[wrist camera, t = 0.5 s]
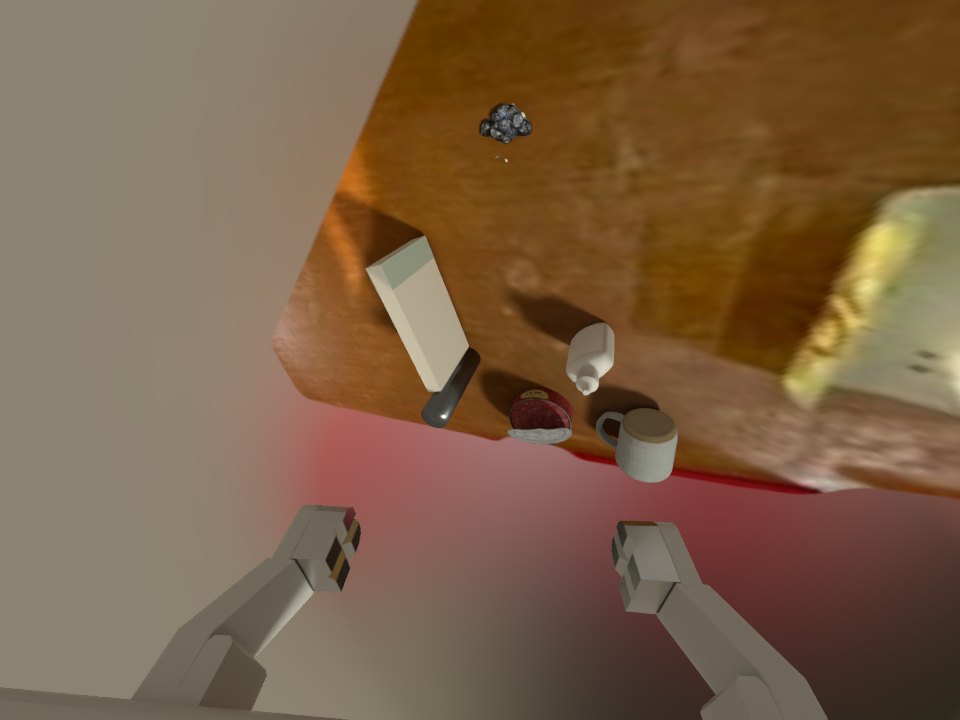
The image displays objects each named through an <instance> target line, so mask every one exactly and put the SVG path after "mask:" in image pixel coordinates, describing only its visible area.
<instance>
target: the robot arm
mask: <svg viewBox="0 0 960 720" xmlns="http://www.w3.org/2000/svg"><path fill="white" fill-rule="evenodd" d="M355 514H356V513H355V510H354V508H353V507H337V506H322V505H304V506H303V507H302V508H301V509H300V510H299V511H298V513H297V515H296V517H295V518H294V520H293V522H292V524H291V525H290V527H289V529H288V531H287V532H286V534H285V536H284V538H283V539H282V541H281V543H280V545H279V546H278V548H277V550H276V552H275V553H274V555H273V557H272V558H266V559H265V560H264V561H263V562H262V563H260V564H259V565H258V566H257V567H255V568H254V569H253V570H252V571H251V572H249V573H248V574H247V575H245V576H244V577H243V578H242V579H240V580H239V581H238V582H237V583H235V584H234V585H233V586H232V587H230V588H229V589H228V590H227V591H225V592H224V593H223V594H222V595H220V596H219V597H218V598H217V599H215V600H214V601H213V602H212V603H211V604H209V605H208V606H207V607H206V608H204V609H203V610H202V611H201V612H199V613H198V614H197V615H196V616H194V617H193V618H192V619H191V620H189V621H188V622H187V623H186V624H185V625H183V626H182V627H181V628H179V629H178V631H177V632H176V633H175V635H174V636H173V638H172V639H171V641H170V642H169V644H168V645H167V647H166V648H165V650H164V651H163V653H162V654H161V656H160V657H159V659H158V660H157V661H156V663H155V665H154V666H153V667H152V669H151V670H150V672H149V673H148V675H147V676H146V678H145V679H144V681H143V682H142V684H141V685H140V687H139V688H138V690H137V691H136V692H135V694H134V696H133V697H132V698H131V699H119V698H109V697H98V696H87V695H75V694H65V693H55V692H44V691H33V690H23V689H12V688H1V687H0V720H346V719H335V718H325V717H313V716H303V715H292V714H281V713H270V712H260V711H251V710H252V708H253V706H254V703H255V701H256V699H257V696H258V694H259V692H260V690H261V687H262V685H263V683H264V681H265V678H266V676H267V674H266V670H265V668H263V667H262V666H261V665H260V664H259V663H258V662H257V661H256V660H255V659H254V658H255V657H256V656H257V655H258V654H259V653H260V651H261V650H262V649H263V648H264V647H265V646H266V645H267V644H268V643H269V642H270V641H271V640H272V638H273V637H274V636H275V635H276V634H277V633H278V632H279V631H280V630H281V628H282V627H283V626H284V625H285V624H286V623H287V622H288V621H289V620H290V619H291V618H292V616H293V615H294V614H295V613H296V612H297V611H298V610H299V609H300V608H301V607H302V605H303V604H304V603H305V602H306V601H307V600H308V599H309V598H310V596H311V595H312V594H313V593H314V592H313V591H327V592H342V589H343V586H344V583H345V580H346V578H347V575H348V573H349V570H350V567H349V562H348V560H349V559H350V558H351V557H352V556H353V555H354V554H355V553H356V551H357V548H358V545H359V541H360V535H361V528H360V524H359V522H358V521H357V520H356V519H354V517H355ZM617 531H618V533H617V534H615V535H614V536H613V539H612V550H611V551H612V558H613V563H614V566H615V569H616V570H617V572H618V573H619V574H620V575H621V576H622V579H621V582H620V584H619V587H620V590H621V594H622V598H623V602H624V606H625V610H626V611H628V612H640V613H649V614H658V615H657V617H658V618H659V620H660V621H661V622H662V624H663V625H664V626H665V628H666V629H667V630H668V632H669V633H670V634H671V635H672V637H673V638H674V640H675V641H676V642H677V644H678V645H679V646H680V648H681V649H682V650H683V651H684V653H685V654H686V655H687V657H688V658H689V659H690V661H691V662H692V663H693V665H694V666H695V667H696V669H697V670H698V671H699V673H700V674H701V675H702V677H703V678H704V679H705V681H706V682H707V683H708V685H709V686H710V687H711V689H712V690H713V691H714V693H715V694H716V696H714V697H713V698H712V699H711V700H710V701H709V702H708V703H706V704H705V705H704V706H703V708H702V710H701V712H700V713H701V716H702V719H703V720H828V719H827V717H826V715H825V713H824V711H823V710H822V708H821V706H820V704H819V703H818V701H817V699H816V697H815V695H814V694H813V692H812V690H811V688H810V686H809V685H808V683H807V681H806V679H805V678H804V677H803V676H802V675H801V674H799V672H798V671H797V670H796V669H794V668H793V667H792V666H791V665H790V664H789V663H788V662H787V661H786V660H785V659H784V658H783V657H782V656H781V655H780V654H779V653H778V652H777V651H776V650H775V649H774V648H773V647H772V646H771V645H770V644H769V643H767V641H766V640H765V639H763V637H761V636H760V635H759V634H758V633H757V632H756V631H755V630H754V629H753V628H752V627H751V626H750V625H749V624H748V623H747V622H746V621H745V620H744V619H743V618H742V617H741V616H740V615H738V613H737V612H735V610H734V609H733V608H731V607H730V606H729V605H728V604H727V603H726V602H725V601H724V600H723V599H722V598H721V597H720V596H719V595H718V594H717V593H716V592H715V591H714V590H713V589H712V588H711V587H710V586H709V585H703V584H702V582H701V580H700V577H699V575H698V573H697V571H696V569H695V566H694V564H693V562H692V560H691V557H690V555H689V553H688V551H687V549H686V546H685V544H684V542H683V540H682V537H681V535H680V533H679V531H678V529H677V527H676V526H675V525H674V524H673V523H665V522H650V521H619V522H618V524H617Z"/></svg>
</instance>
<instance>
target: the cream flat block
mask: <svg viewBox="0 0 960 720" xmlns="http://www.w3.org/2000/svg"><path fill="white" fill-rule="evenodd" d="M366 271H367V273H368V275H369V277H370V279H371V281H372V283H373V284H374V286H375V288H376V290H377V292H378V294H379V296H380V298H381V300H382V302H383V304H384V305H385V307H386V309H387V311H388V313H389V315H390V317H391V319H392V321H393V323H394V325H395V327H396V329H397V331H398V333H399V335H400V337H401V339H402V341H403V343H404V345H405V347H406V349H407V351H408V353H409V355H410V357H411V359H412V361H413V363H414V365H415V367H416V369H417V371H418V373H419V375H420V377H421V379H422V381H423V383H424V385H425V387H426V389H427V391H428V392H436V391H441V390H442V389H443V387H444V386H445V384H446V382H447V381H448V379H449V378H450V376H451V374H452V373H453V371H454V370H455V368H456V366H457V365H458V363H459V362H460V360H461V358H462V357H463V355H464V354H465V352H466V350H467V349H468V347H469V345H468V342H467V340H466V337H465V335H464V332H463V330H462V327H461V325H460V322H459V320H458V317H457V315H456V312H455V310H454V307H453V305H452V302H451V300H450V297H449V295H448V292H447V290H446V287H445V285H444V282H443V280H442V277H441V275H440V272H439V270H438V267H437V265H436V262H435V260H434V256H433V254H432V251H431V249H430V246H429V244H428V241H427V239H426V236H422V237H419V238H415V239H412V240H411V241H409V242H407V243H406V244H404V245H403V246H401V247H399V248H398V249H396V250H395V251H393V252H391V253H390V254H388V255H387V256H385V257H383V258H382V259H380V260H379V261H377V262H375V263H374V264H372V265H371V266H369V267H367V268H366Z"/></svg>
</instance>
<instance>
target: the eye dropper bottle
mask: <svg viewBox="0 0 960 720" xmlns="http://www.w3.org/2000/svg"><path fill="white" fill-rule="evenodd" d="M613 362H614V332H613V331H612V329H611V328H610V327H609V325H608V324H606V323H596V324H593V325H590V326H587V327H585V328H584V329H582V330H581V331H579V332H578V333H577V334H576V335H575V336H574V337H573V338H572V340H571V343H570V348H569V354H568V359H567V365H566V373H567V375H568V376H569V378H570V379H571V380H572V381H574V382H576V387H577V388H578V389H579V390H580V391H582V392H583V394H584V395H589V394H590V393H592V392H594V391H595V390H597V388H598V385H599V378H600V377H601V376H603V375H604V374H605V373H606V372H607V371H608V370H609V369H610V368H611V367H612V365H613Z"/></svg>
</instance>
